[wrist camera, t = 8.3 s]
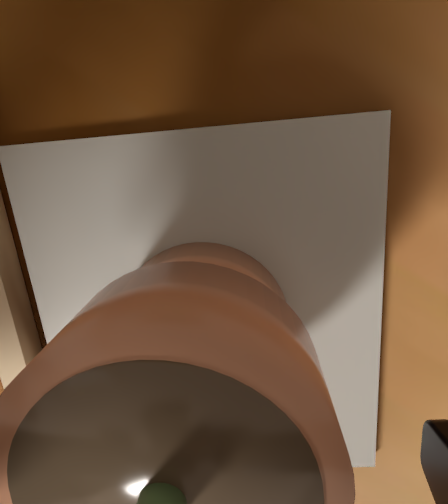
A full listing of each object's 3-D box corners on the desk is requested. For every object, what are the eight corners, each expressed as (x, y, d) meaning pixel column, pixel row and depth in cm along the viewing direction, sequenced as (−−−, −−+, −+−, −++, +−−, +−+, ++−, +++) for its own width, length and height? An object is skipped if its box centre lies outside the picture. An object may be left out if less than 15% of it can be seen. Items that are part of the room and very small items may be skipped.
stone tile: (371, 457, 13) (374, 466, 13) (84, 462, 14) (79, 471, 14) (385, 111, 10) (390, 109, 10) (5, 146, 11) (-4, 146, 11)
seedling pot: (303, 400, 12) (395, 829, 5) (126, 404, 13) (-53, 798, 5) (299, 222, 11) (437, 441, 3) (93, 235, 11) (-254, 455, 3)
